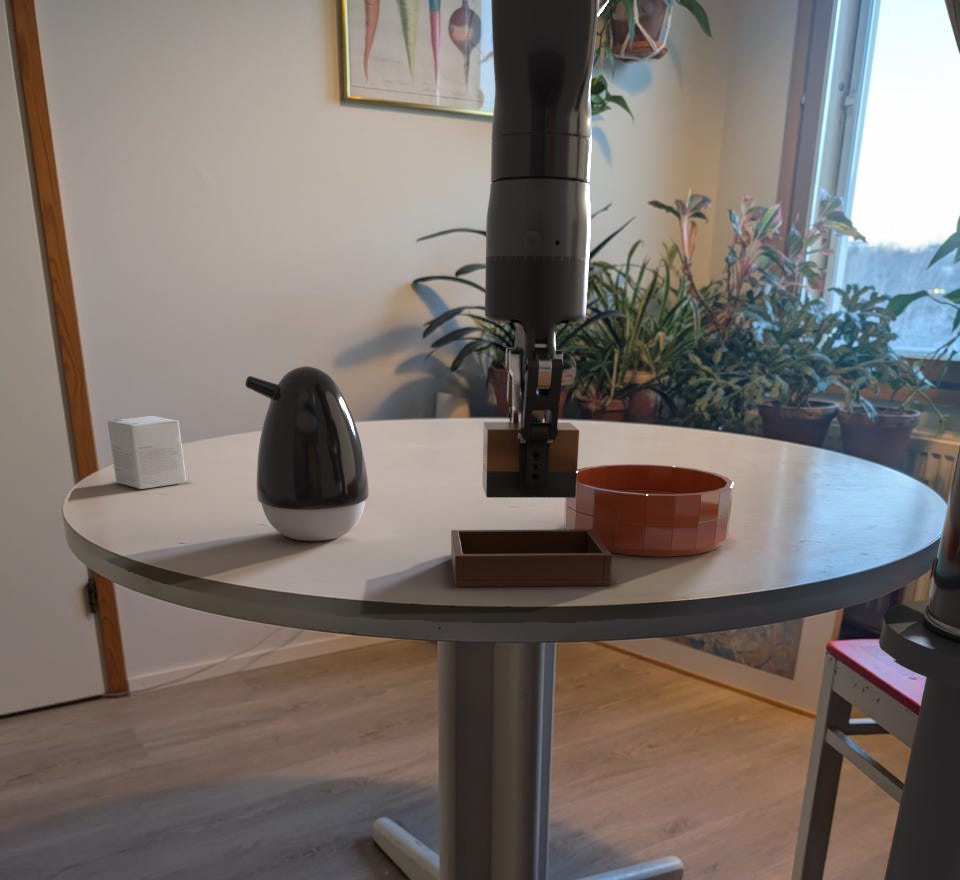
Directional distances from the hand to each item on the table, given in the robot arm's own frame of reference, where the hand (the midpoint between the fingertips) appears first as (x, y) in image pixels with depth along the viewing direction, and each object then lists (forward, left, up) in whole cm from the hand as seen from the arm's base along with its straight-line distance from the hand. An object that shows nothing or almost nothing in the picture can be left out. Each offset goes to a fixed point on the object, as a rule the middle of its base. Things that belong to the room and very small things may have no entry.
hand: (529, 486), depth 71 cm
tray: (0, 0, -7) cm, 7 cm away
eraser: (0, 0, 0) cm, 0 cm away
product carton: (+55, -1, -7) cm, 56 cm away
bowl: (-2, -17, -7) cm, 18 cm away
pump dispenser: (+22, +3, -7) cm, 24 cm away
